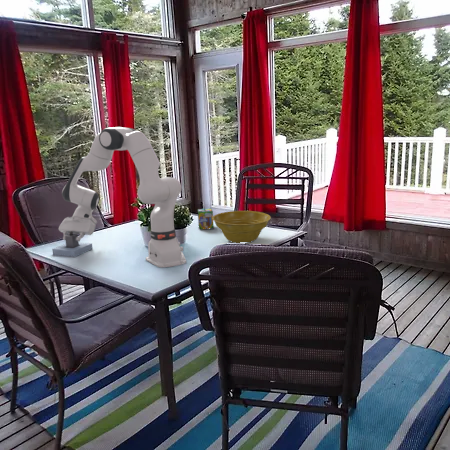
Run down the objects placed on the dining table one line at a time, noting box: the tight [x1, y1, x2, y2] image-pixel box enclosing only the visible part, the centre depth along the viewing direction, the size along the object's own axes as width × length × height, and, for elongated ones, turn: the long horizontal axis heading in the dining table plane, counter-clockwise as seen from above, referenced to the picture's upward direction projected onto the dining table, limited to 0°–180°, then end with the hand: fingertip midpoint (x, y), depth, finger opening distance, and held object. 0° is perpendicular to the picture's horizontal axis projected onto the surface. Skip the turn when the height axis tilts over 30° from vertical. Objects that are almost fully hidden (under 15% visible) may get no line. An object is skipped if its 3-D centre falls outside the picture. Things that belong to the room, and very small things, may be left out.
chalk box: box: [197, 204, 215, 230], centre depth 258 cm, size 9×9×15 cm
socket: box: [52, 241, 94, 258], centre depth 218 cm, size 14×14×3 cm
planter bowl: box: [212, 210, 272, 244], centre depth 230 cm, size 32×32×13 cm
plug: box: [64, 231, 80, 248], centre depth 217 cm, size 4×4×11 cm
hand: (70, 240), depth 216 cm, fingers open, 7 cm apart
